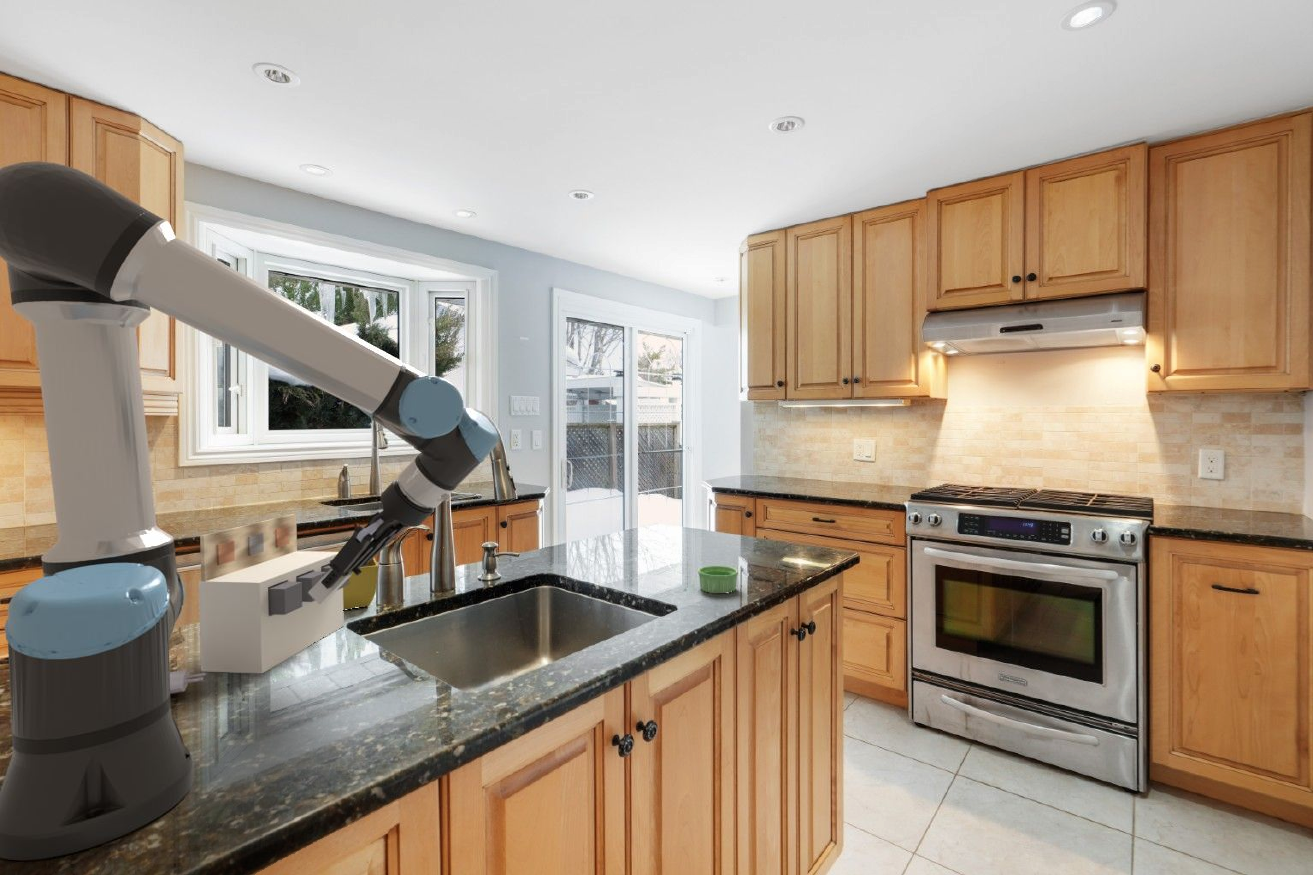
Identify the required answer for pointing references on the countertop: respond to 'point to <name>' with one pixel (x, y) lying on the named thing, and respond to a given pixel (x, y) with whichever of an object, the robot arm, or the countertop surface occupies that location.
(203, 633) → the console
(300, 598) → the left button
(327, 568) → the right button
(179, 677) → the charger
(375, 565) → the flower pot
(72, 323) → the robot arm
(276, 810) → the countertop surface
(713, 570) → the ramekin
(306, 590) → the middle button
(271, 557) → the pattern sign
